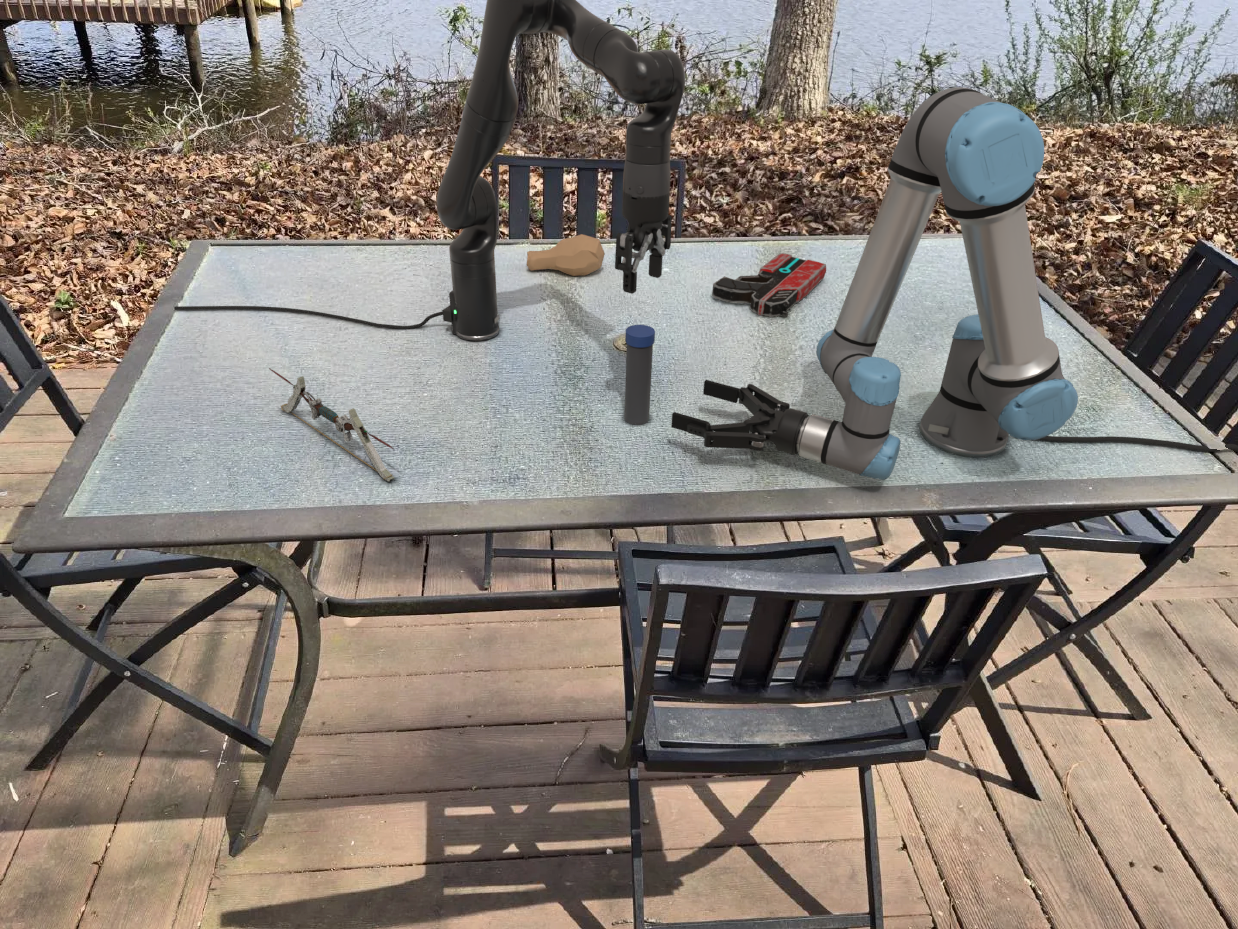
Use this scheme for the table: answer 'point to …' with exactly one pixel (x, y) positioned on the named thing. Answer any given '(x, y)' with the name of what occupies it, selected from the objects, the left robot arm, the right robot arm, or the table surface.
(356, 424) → the bow
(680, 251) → the table surface
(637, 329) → the lid
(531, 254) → the squash
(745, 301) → the gun
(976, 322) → the right robot arm
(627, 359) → the dark grey bottle
